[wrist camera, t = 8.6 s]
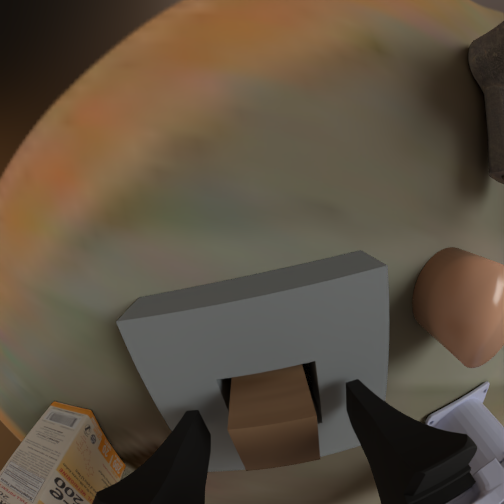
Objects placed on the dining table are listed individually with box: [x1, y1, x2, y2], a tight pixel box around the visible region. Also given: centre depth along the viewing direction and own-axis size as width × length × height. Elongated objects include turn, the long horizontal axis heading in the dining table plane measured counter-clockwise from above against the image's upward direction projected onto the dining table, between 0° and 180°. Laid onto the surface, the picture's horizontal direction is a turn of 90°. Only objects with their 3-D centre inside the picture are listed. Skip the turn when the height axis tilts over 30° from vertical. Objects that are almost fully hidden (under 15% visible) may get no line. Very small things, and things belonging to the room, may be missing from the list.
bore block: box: [116, 250, 389, 472], centre depth 13 cm, size 12×12×3 cm
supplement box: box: [0, 401, 125, 504], centre depth 10 cm, size 8×5×13 cm, turn 5°
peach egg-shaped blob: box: [412, 247, 504, 368], centre depth 12 cm, size 6×6×5 cm
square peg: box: [227, 364, 320, 471], centre depth 12 cm, size 3×3×6 cm
